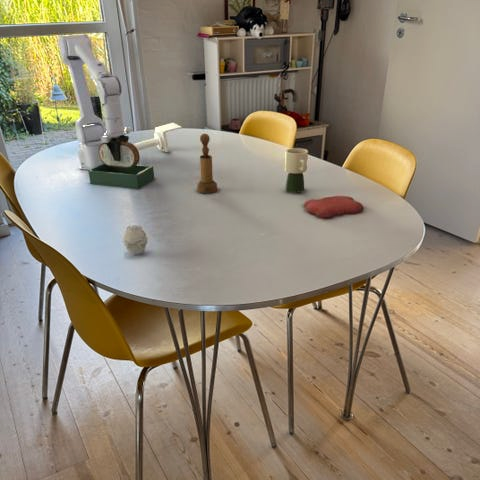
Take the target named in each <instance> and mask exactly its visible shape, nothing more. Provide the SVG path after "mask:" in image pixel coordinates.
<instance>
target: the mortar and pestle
mask: <svg viewBox="0 0 480 480" xmlns="http://www.w3.org/2000/svg"><path fill="white" fill-rule="evenodd" d="M199 139H200V140H199V141H200V142H201V145H202V148H201V152H202V154H201V155H200V156H199V165H200V166H199V167H200V181H199V182H197V184H196V185H197V186H196V187H197V192H198V193H201V194H206V195H207V194H213V193H216V192H218V183H217V182H216V181H215V180H214V177H213V175H214V173H213V156H212V155H210V154H209V153H210V148H209V147H208V145H209V143H210V140H211V138H210V136H209V134H207V133H202V134H200V136H199Z"/></svg>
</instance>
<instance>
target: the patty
mask: <svg viewBox="0 0 480 480" xmlns="http://www.w3.org/2000/svg"><path fill="white" fill-rule="evenodd" d="M303 205H304V207H305V210H306V212H307V213H309V214H310V215H314V216H316V217H317V218H320V219H332V218H334V217H341V216H344V215H355V214H360V213H361V212H363V210H364V205H363V204H362V203H361V202H359V201H357V200H355V199H354V198H353V197H352V196H348V195H333V196H326V197H323V198H319V199H314V198H313V199H307V200H306V201H305V202H304V203H303Z"/></svg>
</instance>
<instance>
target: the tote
mask: <svg viewBox="0 0 480 480" xmlns="http://www.w3.org/2000/svg"><path fill="white" fill-rule="evenodd" d="M87 172H88V177H89V183H90V185H97V186H107V187H115V188H124V189H134V190H139V189H141V188H143V187H144V186H146V185H147V184H149V183H151V182H152V181H155V171H154V166H153V165H147V164H146V165H145V164H137V165H136V166H134V167H132V168H121V167H112V166H107V165H105V164H104V163H103V164H101V165H99V166H97V167H95V168H93V169H91V170H87Z"/></svg>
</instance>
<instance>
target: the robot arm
mask: <svg viewBox="0 0 480 480" xmlns="http://www.w3.org/2000/svg"><path fill="white" fill-rule="evenodd" d="M57 47H58V51H59V54H60V58H61V59H60V60H61V61H62V63H63V65H66V66H67V68H68V71H69V75H70V79H71V84H72V88H73V91H74V95H75V99H76V103H77V107H78V111H79V114H80V116H79V117H78V119H77V120H76V121H75V123H74V127H75V135H76V138H77V141H78V142H79V144H78V146H77V155H78V161H79V165H80V167H79V170H86V171H89V170H91V169H93V168H95V167H97V166H99V165H101V164H103V162H102V161H101V159H100V157H99V153H98V149H99V146H100V145H101V144H102V143H105V144H106V145H107V147H108V148H109V150H110V152H111V154H112V156H113V159H114V161H120V159H121V157H120V146H121V142H129V140H130V136H129V135H128V134H130V133H131V130H130V127H129V126H124V121H123V120H124V119H123V113H122V106H121V98H120V96H121V95H122V91H123V90H122V84H121V81H120V78H119V77H118V76H117V75H114V74H111V73H110V70H108V69H107V67H106V65H105V64H104V63H103V62H102V61H101V60H97V58H96V56H95V54H94V52H93V43H92V40H91V38H90V36H89V35H88V33H83V34H66V35H63V34H60V35H59V36H58V38H57ZM84 64H85V65H86V67H87V73H88V75H89V76H90V78H91V79H92V81H93V82H94V84H95V86H96V91H97V95H98V97H99V101H100V103H101V105H102V111H103V117H104V120H103V119H102V118H100V117H99V116H97V115H95V111H94V108H93V107H94V106H93V103H92V99H91V95H90V91H89V86H88V82H87V79H86V74H85V69H84V66H85V65H84ZM103 121H104V122H103Z"/></svg>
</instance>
